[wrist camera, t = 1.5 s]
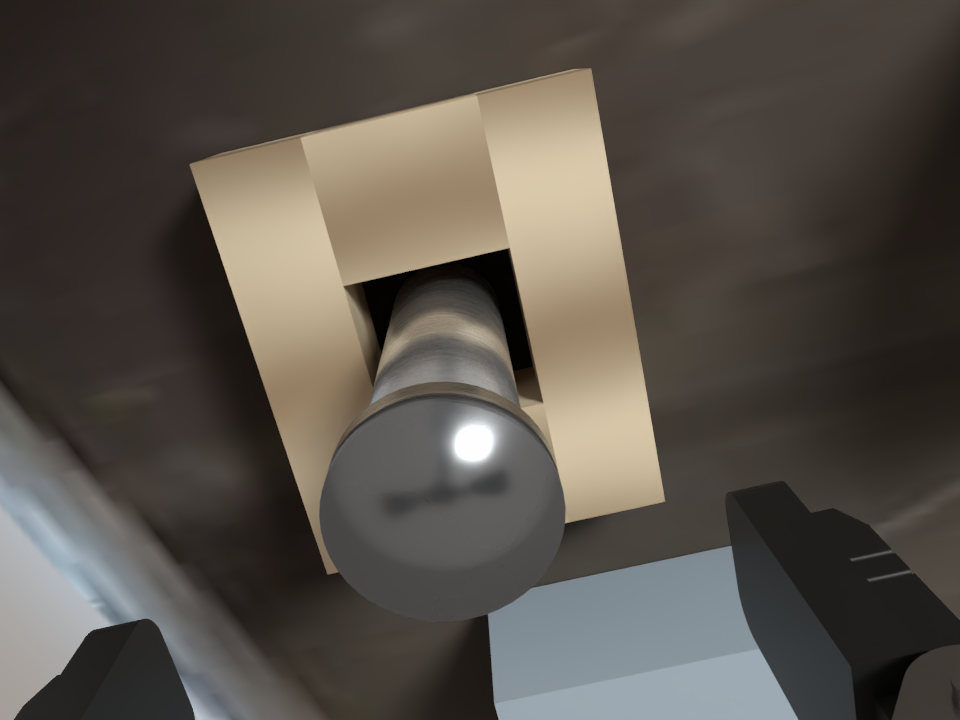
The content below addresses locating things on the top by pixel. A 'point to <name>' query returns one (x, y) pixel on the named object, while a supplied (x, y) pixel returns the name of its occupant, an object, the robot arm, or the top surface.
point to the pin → (443, 464)
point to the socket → (634, 648)
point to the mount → (435, 240)
